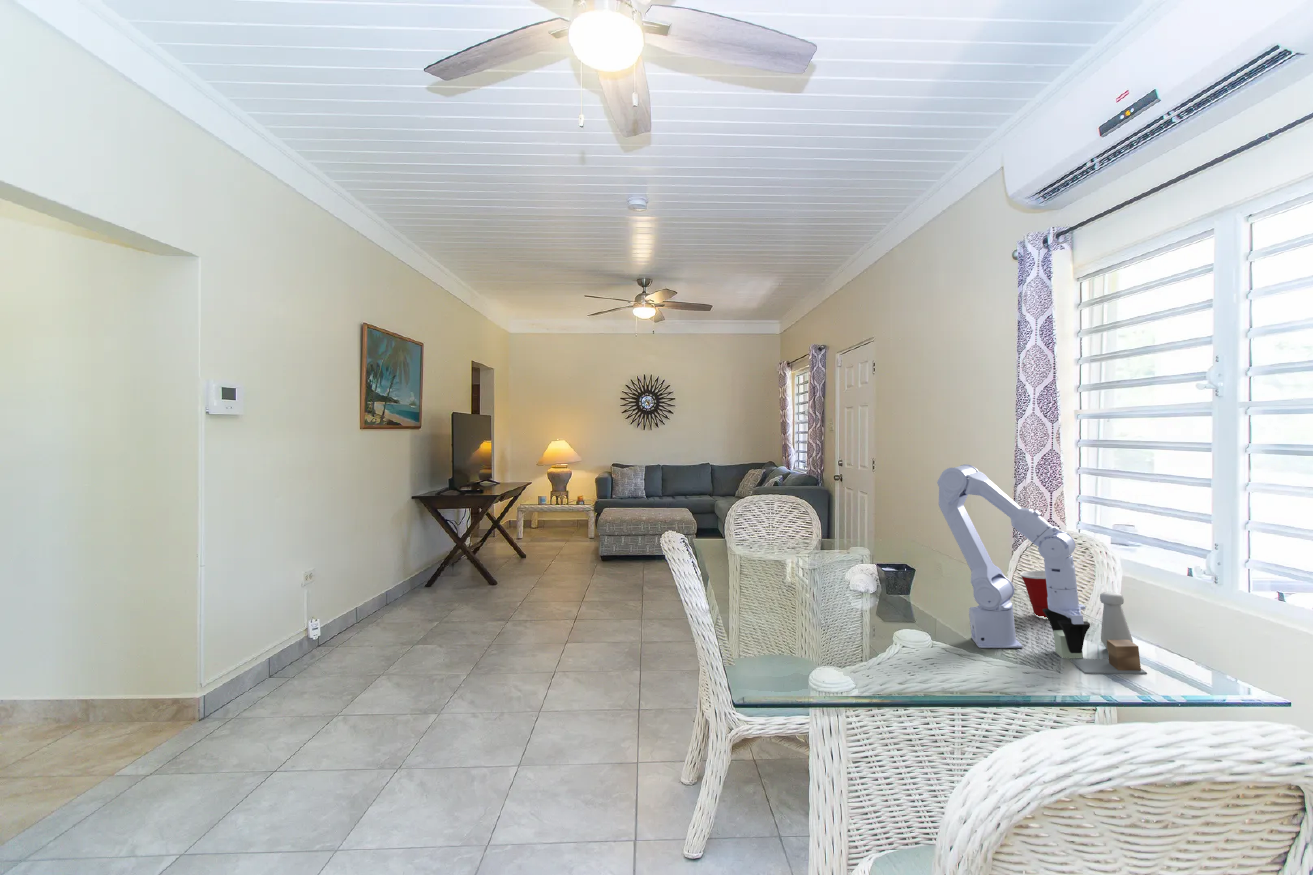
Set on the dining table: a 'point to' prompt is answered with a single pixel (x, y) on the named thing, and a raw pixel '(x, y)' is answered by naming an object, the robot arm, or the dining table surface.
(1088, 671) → the slate mat
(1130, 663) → the walnut block
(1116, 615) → the salt shaker
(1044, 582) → the plastic cup
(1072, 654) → the sage block
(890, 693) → the dining table surface
